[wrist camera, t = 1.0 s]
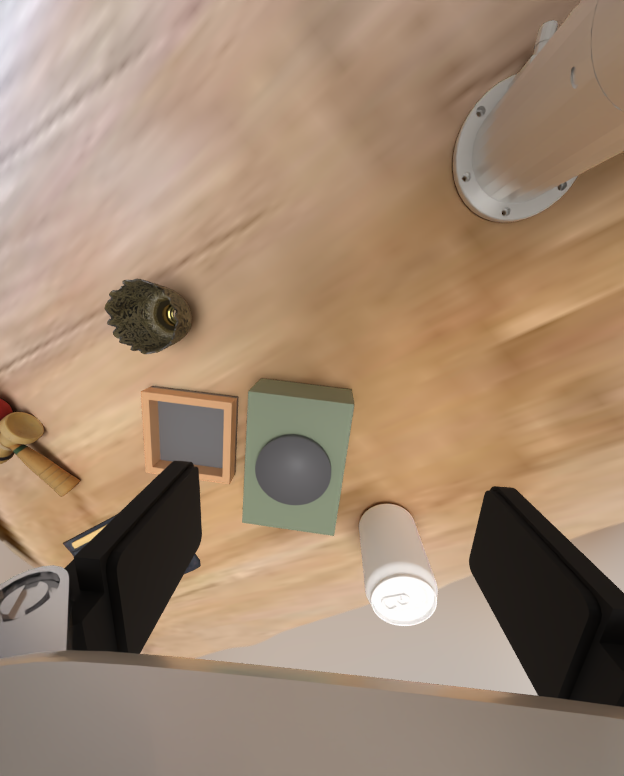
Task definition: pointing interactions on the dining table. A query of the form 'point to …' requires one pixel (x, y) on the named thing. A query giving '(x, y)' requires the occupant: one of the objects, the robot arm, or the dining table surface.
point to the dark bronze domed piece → (148, 316)
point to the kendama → (14, 429)
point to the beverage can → (396, 566)
